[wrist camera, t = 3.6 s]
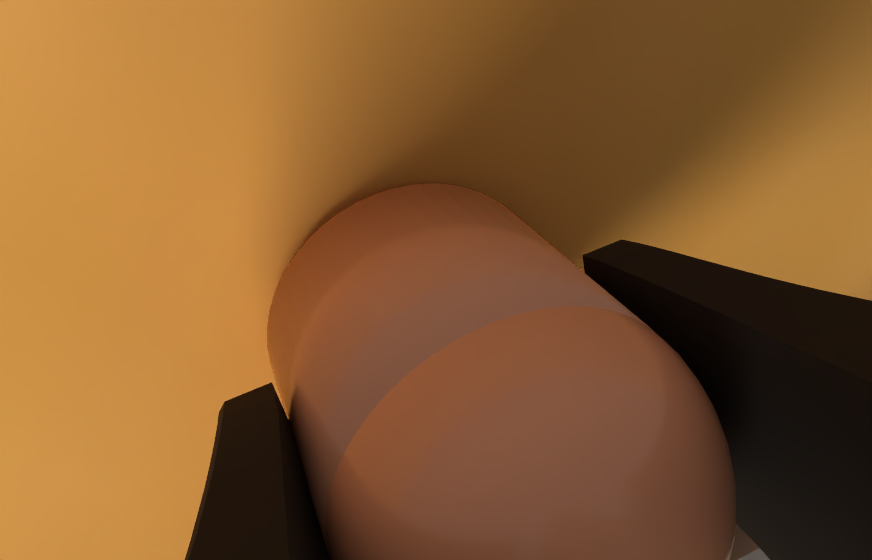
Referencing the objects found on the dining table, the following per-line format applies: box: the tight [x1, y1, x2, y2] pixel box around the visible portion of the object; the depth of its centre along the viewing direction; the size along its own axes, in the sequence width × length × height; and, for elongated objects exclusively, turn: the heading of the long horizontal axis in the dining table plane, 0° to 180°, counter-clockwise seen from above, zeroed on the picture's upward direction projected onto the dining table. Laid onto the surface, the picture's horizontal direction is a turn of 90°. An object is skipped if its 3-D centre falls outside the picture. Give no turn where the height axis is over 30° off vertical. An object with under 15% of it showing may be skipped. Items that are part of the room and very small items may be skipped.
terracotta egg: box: [267, 183, 737, 560], centre depth 9 cm, size 4×4×6 cm
